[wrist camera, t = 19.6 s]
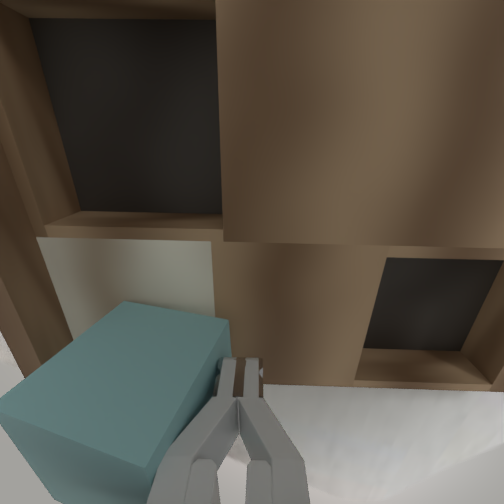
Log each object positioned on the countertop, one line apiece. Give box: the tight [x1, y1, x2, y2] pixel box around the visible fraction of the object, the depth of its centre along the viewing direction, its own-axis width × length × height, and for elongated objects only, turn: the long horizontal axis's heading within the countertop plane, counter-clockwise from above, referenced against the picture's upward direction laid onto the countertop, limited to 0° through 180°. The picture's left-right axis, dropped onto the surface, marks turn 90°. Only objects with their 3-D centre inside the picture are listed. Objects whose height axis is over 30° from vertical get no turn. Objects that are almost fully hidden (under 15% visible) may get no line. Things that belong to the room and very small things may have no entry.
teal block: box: [0, 301, 232, 504], centre depth 9 cm, size 5×5×5 cm
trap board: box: [0, 0, 504, 392], centre depth 10 cm, size 26×16×4 cm, turn 89°
